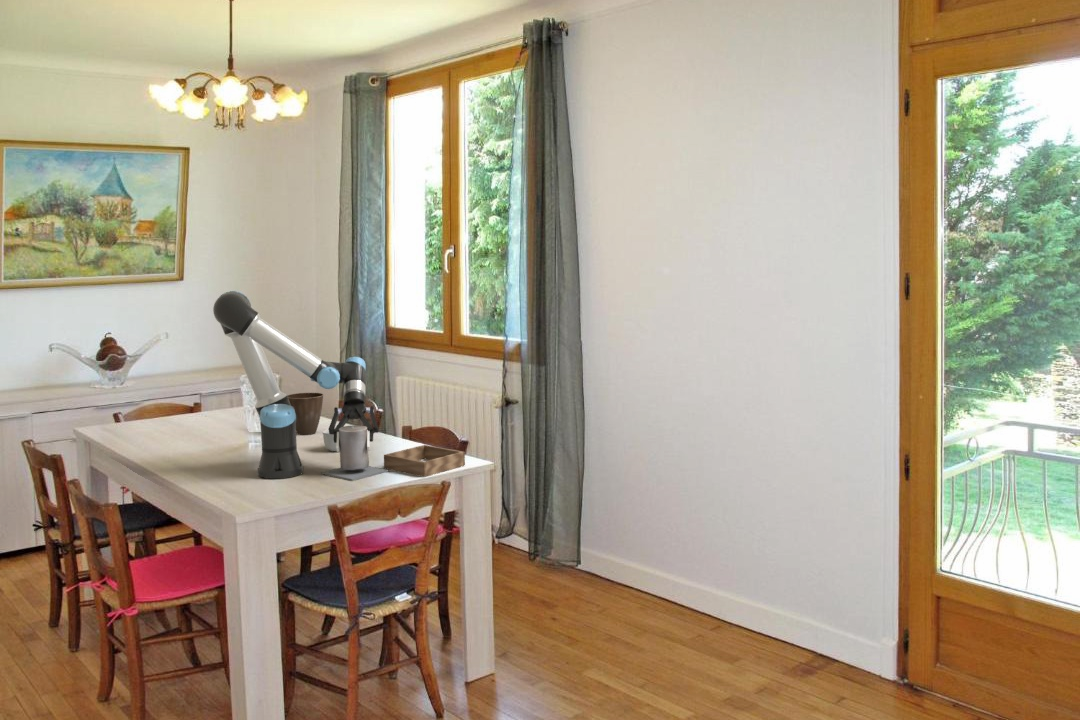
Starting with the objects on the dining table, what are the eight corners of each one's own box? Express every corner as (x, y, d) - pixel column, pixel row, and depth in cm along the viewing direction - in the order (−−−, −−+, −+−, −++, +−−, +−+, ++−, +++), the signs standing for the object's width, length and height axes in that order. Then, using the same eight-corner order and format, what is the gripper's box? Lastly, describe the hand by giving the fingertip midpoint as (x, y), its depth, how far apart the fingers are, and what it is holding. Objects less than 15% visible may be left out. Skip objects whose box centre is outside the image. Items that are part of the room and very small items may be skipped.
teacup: (345, 453, 374) (344, 432, 373) (318, 452, 376) (317, 431, 375) (359, 445, 387) (358, 425, 386) (333, 444, 390) (332, 424, 388)
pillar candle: (350, 462, 350) (348, 420, 348) (374, 464, 346) (372, 422, 344) (334, 469, 341) (332, 426, 339) (359, 471, 337) (357, 428, 335)
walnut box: (424, 477, 337) (424, 462, 336) (384, 468, 349) (383, 454, 348) (465, 465, 352) (464, 451, 351) (424, 458, 364) (424, 444, 364)
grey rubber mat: (352, 480, 332) (352, 479, 332) (321, 474, 342) (321, 472, 342) (387, 471, 345) (387, 469, 345) (356, 465, 355) (356, 463, 355)
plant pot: (280, 434, 411) (278, 396, 409) (308, 428, 423) (306, 391, 421) (304, 438, 402) (302, 399, 400) (332, 432, 414) (330, 394, 412)
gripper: (386, 401, 357) (386, 453, 344) (323, 403, 355) (321, 456, 341) (385, 388, 351) (385, 442, 338) (321, 390, 349) (318, 444, 335)
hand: (353, 449), depth 339 cm, fingers closed on pillar candle, 10 cm apart
